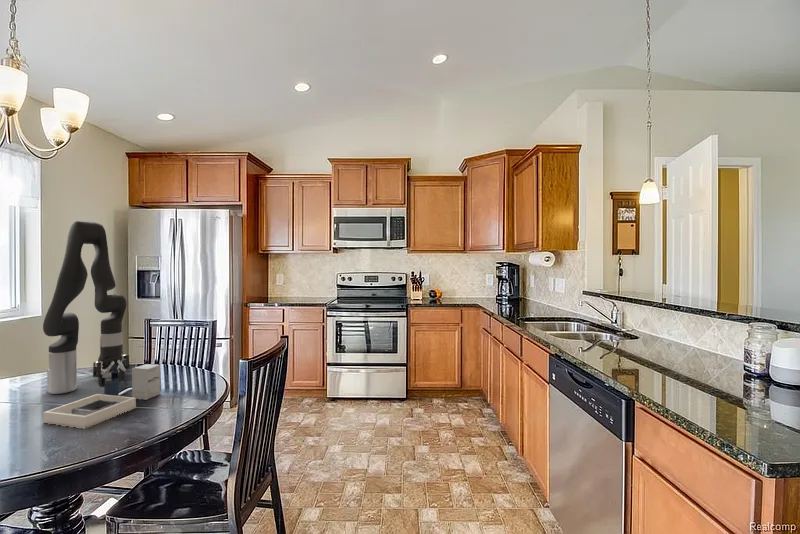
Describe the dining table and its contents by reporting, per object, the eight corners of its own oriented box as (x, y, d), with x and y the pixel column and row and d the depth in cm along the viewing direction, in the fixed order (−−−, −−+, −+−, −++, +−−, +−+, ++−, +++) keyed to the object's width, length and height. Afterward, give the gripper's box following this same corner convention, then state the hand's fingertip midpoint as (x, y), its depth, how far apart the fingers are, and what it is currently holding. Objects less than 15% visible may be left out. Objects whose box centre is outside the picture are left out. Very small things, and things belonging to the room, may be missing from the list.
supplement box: (146, 400, 167) (146, 369, 167) (131, 398, 168) (131, 368, 168) (160, 394, 174) (160, 364, 174) (145, 393, 176) (145, 363, 175)
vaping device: (120, 397, 170) (120, 368, 170) (107, 401, 165) (107, 371, 165) (115, 396, 171) (115, 367, 171) (102, 400, 166) (102, 370, 166)
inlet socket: (71, 417, 146) (71, 409, 146) (98, 407, 156) (98, 399, 156) (94, 420, 144) (94, 411, 144) (119, 410, 154) (119, 402, 154)
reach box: (43, 423, 143) (43, 412, 143) (97, 403, 162) (97, 393, 162) (84, 429, 139) (84, 417, 138) (135, 408, 158) (135, 397, 158)
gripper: (119, 340, 175) (120, 378, 176) (87, 347, 161) (87, 388, 162) (134, 340, 174) (134, 379, 174) (102, 347, 160) (103, 389, 160)
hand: (112, 383), depth 168 cm, fingers open, 8 cm apart
